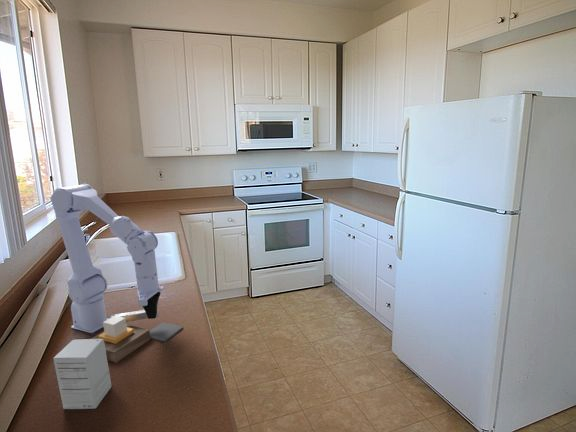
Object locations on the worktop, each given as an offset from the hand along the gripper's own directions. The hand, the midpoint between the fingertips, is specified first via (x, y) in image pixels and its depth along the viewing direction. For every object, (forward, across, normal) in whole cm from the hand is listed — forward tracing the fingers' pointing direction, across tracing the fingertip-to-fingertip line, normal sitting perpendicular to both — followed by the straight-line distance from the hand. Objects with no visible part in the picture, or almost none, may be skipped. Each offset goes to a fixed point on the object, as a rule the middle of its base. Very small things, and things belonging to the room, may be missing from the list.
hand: (152, 317), depth 108 cm
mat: (+5, 0, -3) cm, 6 cm away
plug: (+5, -5, +9) cm, 11 cm away
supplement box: (+5, -26, +9) cm, 28 cm away
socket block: (+5, -5, +9) cm, 11 cm away
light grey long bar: (+2, +1, +5) cm, 6 cm away
